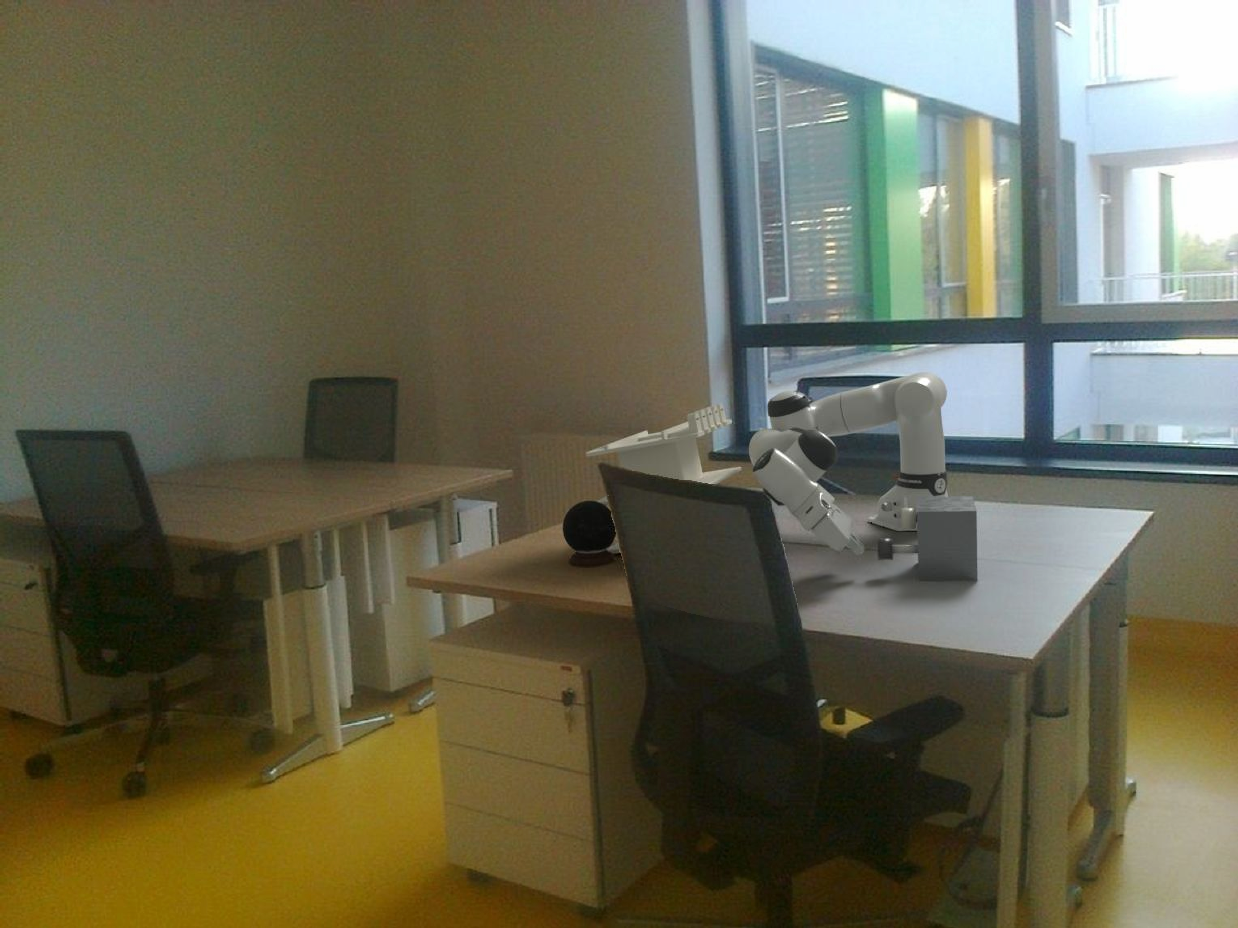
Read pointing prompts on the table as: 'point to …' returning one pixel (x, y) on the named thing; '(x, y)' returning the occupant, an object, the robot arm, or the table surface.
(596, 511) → the black crystal ball
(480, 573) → the table surface
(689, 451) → the white spaceship model
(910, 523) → the ivory knob
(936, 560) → the control box
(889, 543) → the charcoal knob
